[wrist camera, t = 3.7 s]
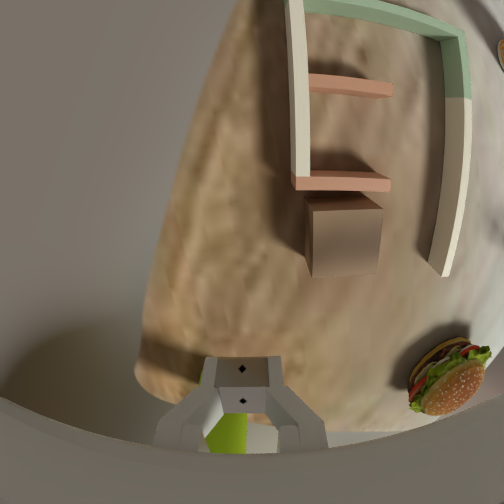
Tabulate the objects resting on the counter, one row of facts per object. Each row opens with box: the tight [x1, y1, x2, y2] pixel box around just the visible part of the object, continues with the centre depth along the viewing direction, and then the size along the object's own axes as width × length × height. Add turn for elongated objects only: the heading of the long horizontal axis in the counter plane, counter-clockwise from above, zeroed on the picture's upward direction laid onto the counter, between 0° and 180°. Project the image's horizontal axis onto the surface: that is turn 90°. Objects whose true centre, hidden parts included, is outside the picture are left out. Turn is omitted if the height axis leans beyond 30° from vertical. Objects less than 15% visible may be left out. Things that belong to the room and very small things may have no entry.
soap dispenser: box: [199, 370, 247, 454], centre depth 23 cm, size 6×7×20 cm
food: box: [408, 337, 491, 416], centre depth 29 cm, size 14×14×8 cm
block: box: [304, 196, 383, 279], centre depth 22 cm, size 6×6×4 cm
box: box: [284, 0, 472, 277], centre depth 19 cm, size 24×16×3 cm, turn 2°
